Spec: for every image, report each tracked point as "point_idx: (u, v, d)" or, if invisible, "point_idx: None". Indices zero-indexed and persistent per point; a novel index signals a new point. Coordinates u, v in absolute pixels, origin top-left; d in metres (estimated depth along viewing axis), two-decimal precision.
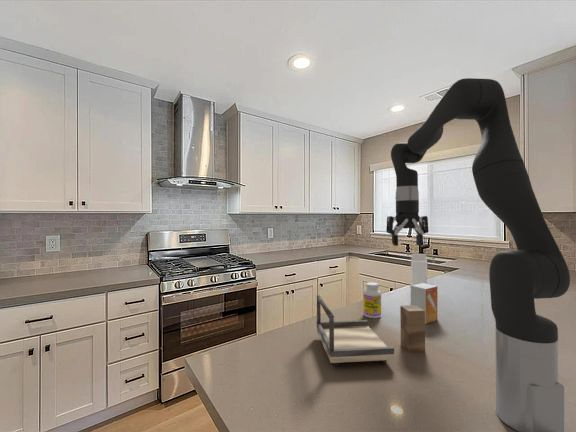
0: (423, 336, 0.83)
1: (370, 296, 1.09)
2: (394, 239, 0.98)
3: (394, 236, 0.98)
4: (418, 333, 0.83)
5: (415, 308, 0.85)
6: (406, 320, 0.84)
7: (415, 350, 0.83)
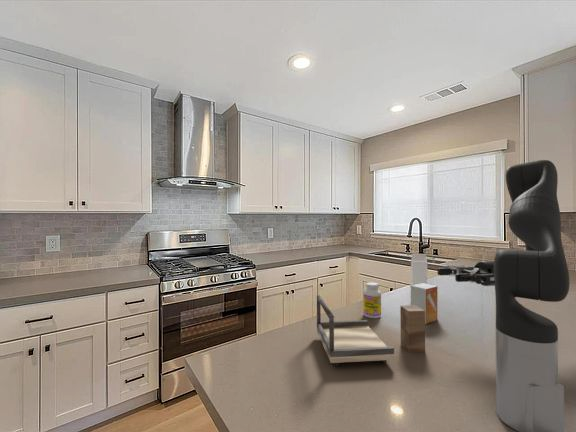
0: (423, 336, 0.83)
1: (370, 296, 1.09)
2: None
3: None
4: (418, 333, 0.83)
5: (415, 308, 0.85)
6: (406, 320, 0.84)
7: (415, 350, 0.83)
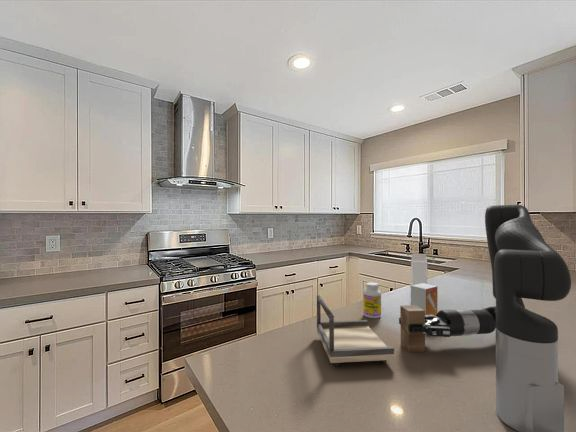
0: (423, 336, 0.83)
1: (370, 296, 1.09)
2: None
3: None
4: (418, 332, 0.83)
5: (414, 307, 0.85)
6: (406, 320, 0.84)
7: (415, 350, 0.83)
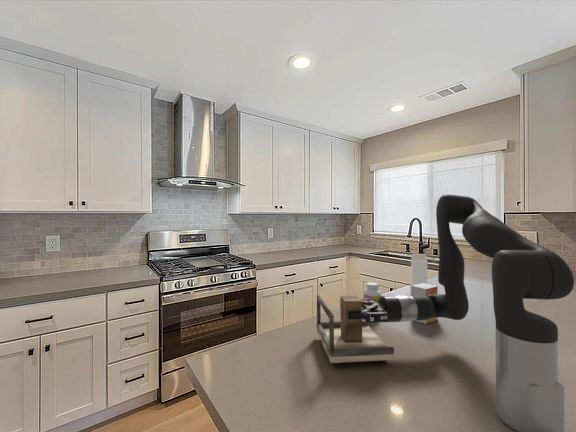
0: (360, 327, 0.81)
1: (370, 296, 1.09)
2: None
3: None
4: (355, 323, 0.81)
5: (353, 298, 0.84)
6: (343, 310, 0.82)
7: (352, 341, 0.81)
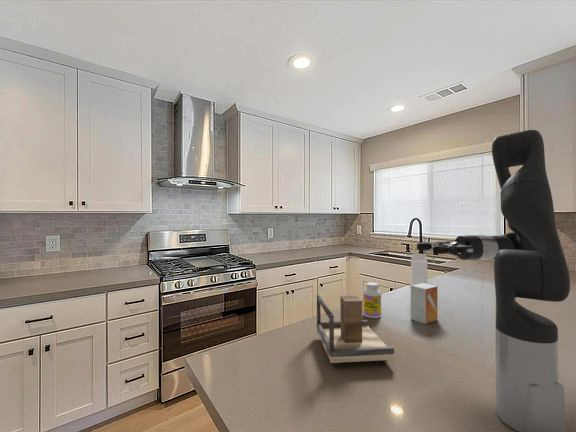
0: (360, 327, 0.81)
1: (370, 296, 1.09)
2: None
3: None
4: (355, 323, 0.81)
5: (353, 298, 0.84)
6: (343, 310, 0.82)
7: (352, 341, 0.81)
